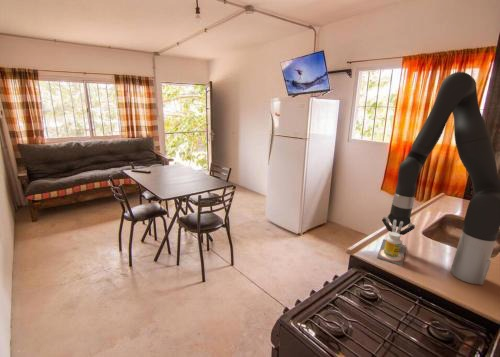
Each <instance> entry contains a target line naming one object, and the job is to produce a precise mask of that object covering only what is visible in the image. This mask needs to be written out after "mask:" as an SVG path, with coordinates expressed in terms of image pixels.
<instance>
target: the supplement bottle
mask: <svg viewBox="0 0 500 357" xmlns="http://www.w3.org/2000/svg"><path fill="white" fill-rule="evenodd" d="M401 236H402V235H400V234H399V233H397V231H396V232H390V231H389V234H388V236H387V237H386V239H385V240H386V243H385V248H384V254H385V255H386V256H388V257H390V258H397V257H398V254H399V250H400V245H401V241H402V240H401Z"/></svg>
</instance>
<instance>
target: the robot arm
mask: <svg viewBox="0 0 500 357" xmlns="http://www.w3.org/2000/svg"><path fill="white" fill-rule="evenodd" d="M451 115H452V116H453V124H454V125H453V126H454V128H453V129H454V131H453V132H454V141H455V145H456V151H457V153H458V156H459V157H458V158H459V159H460V162H461V164H463V167H464V169H465V170H466V172H467V173H468V175H469V178H470V180H471V185H472V189H473V197H471V199H470V201H469V202H468V205H467V209H466V212H465V216H464V219H463V227H462V232H461V235H460V237H459V240H458V243H457V247H456V251H455V253H454V257H453V261H452V263H451V268H450V274H452V276H454V277H455V278H457V279H458V280H460V281H462V282H465V283H468V284H473V285H481V286H484V283H485V280H486V278H487V275H488V271H489V269H490V266H491V263H492V261H491V257H492V254H493V251H494V248H495V245H496V242H497V239H498V236H499V232H500V177H499V174H498V173H499V172H498V168H497V162H496V155H495V153H494V152H495V151H494V147H493V142H492V139H491V136H490V132H489V130H488V127H487V124H486V122H485V119H484V117H483V115H482V113H481V110H480V106H479V98H478V90H477V82H476V80H475V78H474V77H473V76H471V74H469V73H468V72H465V71H457V72H453V73H450V74H449V75H447V77H445V78H444V80H442V82H441V84H440V87H439V90H438V93H437V94H436V98H435V100H434V103H433V105H432V107H431V110H430V112H429V114H428V116H427V118H426V120H425V122H424V123H423V125H422V127H421V129H419V130H420V131H418V134H417V135H416V137H415V139H414V141H413V143H412V145H411V147H410V150H409V151H408V152H409V153H408V154H407V155H406V157H405V158H404V160H402V161H401V163H400V164H399V167H398V173H397V175H398V176H397V184H396V188H395V191H394V195H393V198H392V202H391V207H390V212H389V214H388V215H387V216H386V217H385V216H384V217H382V219H381V221H382V222H383V224H384V226H385V229H386V230H387V232H389V233H390V232H396V233H399V234H400V235H401V236H405V235H406V234H408V233H409V232H412V231H413V230H414V229H415V228H416V225H415V224H413V223H412V222H411V216H412V212H413V207H414V202H415V194H416V191H417V181H418V177H419V174H420V171H421V170H422V169H423V167H424V165H425V163H426V161H427V159H428V158H429V156H430V154H431V153H432V151H433V150H434V148H435V146H436V145H437V144H438V142H439V140H440V139H441V137H442V134H443V132H444V129H445V127H446V125H447V123H448V121H449V118H450V116H451ZM389 222H390V223H389ZM405 227H406V228H405ZM403 228H404V229H403ZM402 229H403V230H402Z"/></svg>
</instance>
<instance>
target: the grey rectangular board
mask: <svg viewBox="0 0 500 357" xmlns="http://www.w3.org/2000/svg"><path fill="white" fill-rule="evenodd" d="M385 243H386V239H385V238H384V239H383V240H382V242H381V245H380V247H379V248H380V249H379V251H378V254H377V256H376V258H377V259H378V260H383V261H385V262H388V263H392V264H395V265H397V266H401V267H403V263H404V262H403V261H404V256H405V252H406V244H403V240H401V245H400V250H399V254H398V257H397V258H390V257H388V256H386V255H385V254H384V248H385Z"/></svg>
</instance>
